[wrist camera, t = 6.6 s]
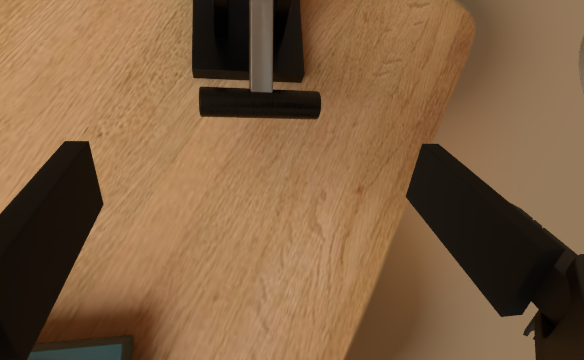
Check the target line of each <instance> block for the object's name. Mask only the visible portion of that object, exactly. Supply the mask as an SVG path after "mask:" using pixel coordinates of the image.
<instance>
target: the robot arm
mask: <svg viewBox="0 0 584 360" xmlns="http://www.w3.org/2000/svg"><path fill="white" fill-rule="evenodd" d="M406 198H407V199H408V200H409V202H410V203H411V204H412V205H413V207H414V208H415V209H416V210H417V212H418V213H419V214H420V215H421V217H422V218H423V219H424V220H425V222H426V223H427V224H428V225H429V227H430V228H431V229H432V231H433V232H434V233H435V234H436V235H437V237H438V238H439V239H440V241H441V242H442V243H443V244H444V246H445V247H446V248H447V249H448V251H449V252H450V253H451V254H452V256H453V257H454V258H455V259H456V261H457V262H458V263H459V265H460V266H461V267H462V268H463V270H464V271H465V272H466V273H467V274H468V276H469V277H470V278H471V280H472V281H473V282H474V283H475V285H476V286H477V287H478V288H479V290H480V291H481V292H482V294H483V295H484V296H485V297H486V299H487V300H488V301H489V302H490V303H491V305H492V306H493V307H494V309H495V310H496V311H497V312H498V314H499V315H500V316H501V317H504V316H514V315H522V314H523V312H524V311H525V309H526V308H527V306H528V305H529V303H530V302H531V301H532V302H533V303H534V304H535V306H536V307H537V308H538V309H539V310H538V312H537V313H536V315H535V316H534V317H533V319H532V320H531V322H530V323H529V325H528V326H527V328H526V329H525V331H524V334H523V335H525V336H528V335H529V333H530V332H531V331H533V330H535V336H534V338H533V339H534V340H535V352H536V360H584V254H580V255H577V254H576V253H575V252H573V251H572V250H571V249H569V248H568V247H567V246H566V245H565V244H564V243H562V242H561V241H560V240H559V239H557V238H556V237H555V236H554V235H552V234H551V233H550V232H549V231H548V230H546V229H545V228H542V226H541V225H540V224H539V223H538V222H537V221H535V220H533V218H532V217H530V216H529V215H528V214H527V213H526V212H524V211H523V210H522V209H520V208H518V207H517V206H515V205H513V204H511V203H509V202H508V201H507V200H505V199H504V198H503V197H502V196H501V195H499V194H498V193H497V192H496V191H495V190H493V189H492V188H491V187H490V186H489V185H487V184H486V183H485V182H484V181H482V180H481V179H480V178H479V177H478V176H476V175H475V174H474V173H473V172H472V171H470V170H469V169H468V168H467V167H466V166H464V165H463V164H462V163H461V162H460V161H458V160H457V159H456V158H455V157H453V156H452V155H451V154H450V153H449V152H447V151H446V150H445V149H444V148H443V147H441V146H440V145H439V144H422V146H421V149H420V153H419V156H418V159H417V162H416V165H415V169H414V172H413V175H412V178H411V181H410V184H409V188H408V191H407V194H406ZM102 206H103V200H102V196H101V192H100V187H99V183H98V179H97V175H96V171H95V166H94V162H93V158H92V154H91V149H90V145H89V141H65V142H64V143H63V144H62V145H61V146H60V147H59V148H58V150H57V151H56V152H55V153H54V154H53V155H52V156H51V157H50V159H49V160H48V161H47V162H46V163H45V164H44V165H43V166H42V168H41V169H40V170H39V171H38V172H37V173H36V174H35V175H34V177H33V178H32V179H31V180H30V181H29V182H28V183H27V184H26V186H25V187H24V188H23V189H22V190H21V191H20V192H19V194H18V195H17V196H16V197H15V198H14V199H13V200H12V201H11V203H10V204H9V205H8V206H7V207H6V208H5V209H4V210H3V212H2V213H1V214H0V360H27V359H28V357H29V355H30V353H31V351H32V349H33V347H34V345H35V343H36V341H37V338H38V336H39V334H40V332H41V330H42V328H43V326H44V324H45V322H46V320H47V318H48V316H49V314H50V312H51V310H52V308H53V306H54V304H55V302H56V300H57V298H58V296H59V294H60V292H61V290H62V288H63V286H64V284H65V282H66V280H67V277H68V275H69V273H70V271H71V269H72V267H73V265H74V263H75V261H76V259H77V257H78V255H79V253H80V251H81V249H82V247H83V245H84V243H85V241H86V239H87V237H88V235H89V233H90V231H91V229H92V227H93V225H94V223H95V221H96V219H97V216H98V214H99V212H100V210H101V208H102Z"/></svg>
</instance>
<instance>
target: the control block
mask: <svg viewBox="0 0 584 360" xmlns="http://www.w3.org/2000/svg"><path fill="white" fill-rule="evenodd" d="M132 346H133V335H130V336H119V337H107V338H96V339H85V340H74V341H63V342H51V343H40V344H35V345H34V347H33V349H32V351H31V353H30V355H29V357H28V359H27V360H132Z"/></svg>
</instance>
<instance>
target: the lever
mask: <svg viewBox="0 0 584 360" xmlns="http://www.w3.org/2000/svg"><path fill="white" fill-rule="evenodd" d="M199 111H200V116H201V117H236V118H278V119H318V118H319V115H320V111H321V97H320V93H319V92H317V91H295V90H273V0H249V89H245V88H220V87H200V88H199Z"/></svg>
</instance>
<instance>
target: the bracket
mask: <svg viewBox="0 0 584 360" xmlns="http://www.w3.org/2000/svg"><path fill="white" fill-rule="evenodd" d="M192 72H193V77H194V78H206V79H228V80H249V0H193V33H192ZM304 75H305V72H304V58H303V43H302V29H301V14H300V0H273V82H296V83H301V82H302V80H303V77H304Z"/></svg>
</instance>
